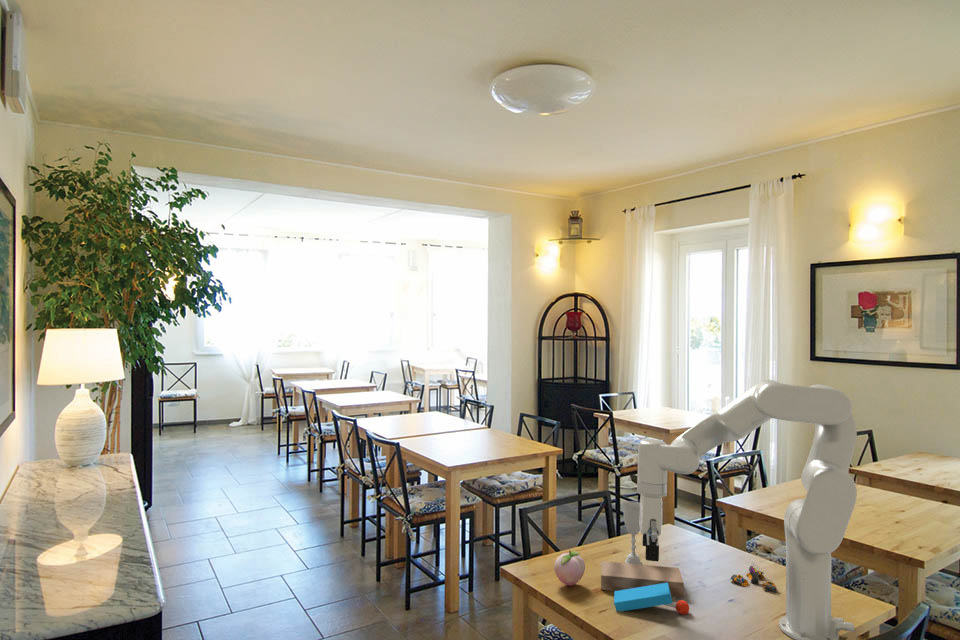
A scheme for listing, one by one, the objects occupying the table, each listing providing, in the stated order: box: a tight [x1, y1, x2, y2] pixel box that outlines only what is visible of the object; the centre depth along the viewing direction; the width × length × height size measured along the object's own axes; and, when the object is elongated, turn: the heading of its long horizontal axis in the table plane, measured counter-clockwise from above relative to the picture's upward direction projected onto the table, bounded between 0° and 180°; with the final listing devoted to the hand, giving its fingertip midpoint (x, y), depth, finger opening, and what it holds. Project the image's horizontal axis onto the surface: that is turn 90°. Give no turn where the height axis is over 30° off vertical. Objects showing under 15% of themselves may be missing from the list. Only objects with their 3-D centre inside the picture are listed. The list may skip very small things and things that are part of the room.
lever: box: [613, 583, 690, 616], centre depth 150 cm, size 7×7×18 cm
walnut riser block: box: [600, 560, 685, 598], centre depth 164 cm, size 22×10×4 cm, turn 78°
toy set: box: [730, 565, 778, 594], centre depth 165 cm, size 12×11×5 cm
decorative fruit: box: [553, 550, 586, 587], centre depth 164 cm, size 9×8×10 cm
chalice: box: [621, 500, 643, 565], centre depth 180 cm, size 7×7×18 cm
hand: (650, 553), depth 151 cm, fingers open, 9 cm apart
